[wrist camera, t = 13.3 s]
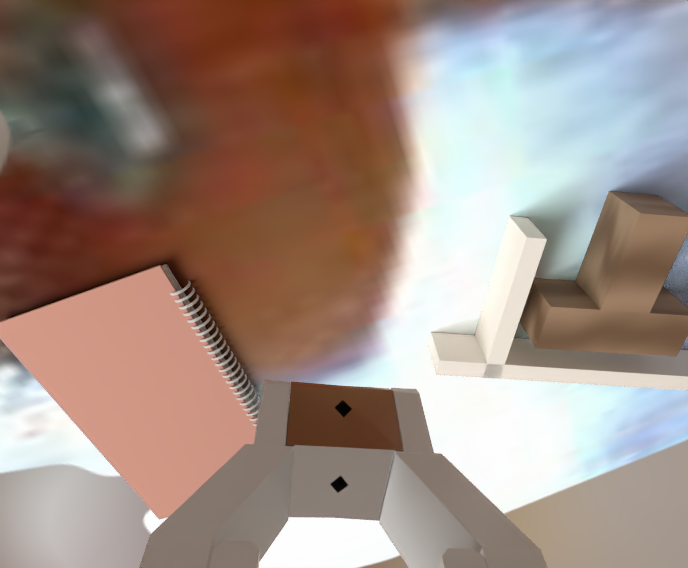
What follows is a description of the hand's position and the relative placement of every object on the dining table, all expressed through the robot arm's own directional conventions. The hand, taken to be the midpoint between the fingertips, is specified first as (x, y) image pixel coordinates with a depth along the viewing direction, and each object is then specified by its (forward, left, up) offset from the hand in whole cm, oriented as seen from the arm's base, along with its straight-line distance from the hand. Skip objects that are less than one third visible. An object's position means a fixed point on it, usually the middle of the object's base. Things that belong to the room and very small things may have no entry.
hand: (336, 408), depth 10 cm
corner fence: (+13, +24, -29) cm, 40 cm away
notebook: (+28, -13, -30) cm, 43 cm away
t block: (+10, +24, -29) cm, 39 cm away
